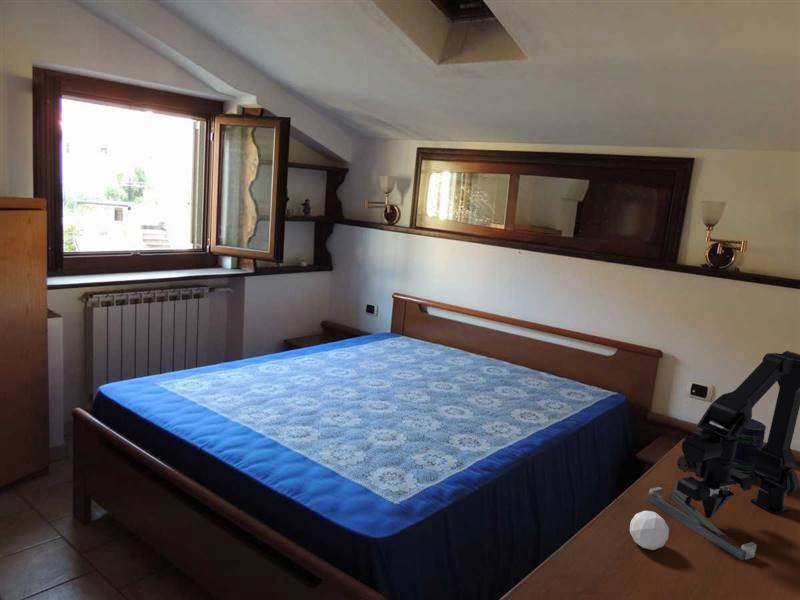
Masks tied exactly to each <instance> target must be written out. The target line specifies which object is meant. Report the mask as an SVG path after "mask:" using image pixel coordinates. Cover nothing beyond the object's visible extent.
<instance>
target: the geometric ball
mask: <svg viewBox="0 0 800 600" xmlns="http://www.w3.org/2000/svg"><path fill="white" fill-rule="evenodd" d="M669 531H670V528H669V526H668V524H667V522H666V521H665V519H664V518H663V517H662V516H660V515H659V514H658V513H657V512H655V511H651V510H643V511H640V512H637V513H635V515H634V516H633V518H632V519H631V521H630V525H629V532H630V535H631V537H632V539H633V541H634V542H635V543H636V544H637V545H639V546H640V547H641V548H643V549H647V550H652V551H655V550H657V549H660V548H663V547H664V546H665V544H666V543H667V541H668V539H669V534H670V532H669Z"/></svg>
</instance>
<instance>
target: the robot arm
mask: <svg viewBox="0 0 800 600" xmlns="http://www.w3.org/2000/svg"><path fill="white" fill-rule="evenodd" d="M776 382H777V384H778V387H779V388H778V394H777V398H776V401H775V402H776V403H775V406H774V411H773V414H772V420H771V424H770V429H769V434H768V436H767V437H768V438H767V442H766V443H765V444H763V445H762V447H761V448H760V449H757V450H756V452H755V458H754V460H753V477H755V479H758V480H761V481H760V483H759V488H758V490H757V491H758V493H757V497H754V498H751V499H750V501H749V502H751V503H753V504H755V505H757V506H759V507H760V508H762V509H764V510H766V511H768V512H769V513H772V514H778V513H782V512H786V511H790V510H791V507H789V506H787V505H785V502H786V498H787V497H786V496H787V493H795V492H796V490H797V489H798V487H799V485H800V479H799V477H798V475H797V474H796V471H795V465H796V460H795V459H796V458H795V456H794V454H793V452H792V450H791V446H792V441H793V437H794V433H795V428H796V424H797V420H798V416H799V411H800V353H797V352H793V351H789V350H785V351H784V352H782V353H779V352H773V353H772V352H771V353H770V352H768V353H765V355H764V356H763V358H762V359H761V362H760V363H759V365H757V367H755V369H754V370H752V372H751V373H750V374H749V375H748V376H747V377H746V378H745V379H744V380H743V382H741V383H740V384H739V385H738V386H737V388H736V389H735V390H733V391H730V392H726V393H723V394H721V395H720V396H719V397H718V398H716V399H715V400H714V401H712V403H710V405H709V406H708V408H707V410H706V411H705V413H704V414H703V416H702V417H701V418H700V420H699V422H698V423H697V425H696V427H697V428H698V429H702V430H693V431H692V435H691V436H687V437H686V438H685V439H684V440H683V442H682V444H681V451H682V455H678V458H677V459H678V460H677V461H676V462H677V463H676V465H677V468H678V469H679V470H681V472H683V473H694V474H695V475H694V476H695V477H697V478H699V479H700V478H701V479H702V480H698V479H697V478H695V477H693V476H688V477H683V478H680V479H677V480H676V484H675V486H676V490H678V491H680V492H682V493H683V494H685V495H687V496H688V497H690V498H691V500H694V501H697V502H702V506H703V511H704V515H705V516H704V517H705V518H706V519H710V520H711V519H712V518H713V517H714V516H715V515H716V514H717V513H718V512H719V510H721V508H722V507H723V506H724V505H725V504H726V503H727V502H728V501H729V500H730V499H731V498H732V497H734V496H735V493H734V492H733V491H731V490H730V487H731V486H736V485H740V486H739V488H740V490H741V491H743V492H746V491H750V490H752V487H753V484H754V483H753V480H751V478H750V477H749V476H747V475H745V474H743V473H741V472H739V471H737V470H735V469H733V468H737V465H738V463H736V462H734V458H735V453H736V448H737V443H738V438H739V437H743V436H744V434H743V433H742V432H741V431H742V430H743V429H744V428H745V427H746V426H747V425H748V422H749V421H750V419H753V418H752V417H753V408H754V407H755V405H756V404H757V403H758V402H759V401H760V400H761V399H762V397H764V395H765V394H766V393H767V392H768V391H770V389H771V388H772V387H773V386H774V385H775V384H776ZM712 423H713V424H712Z"/></svg>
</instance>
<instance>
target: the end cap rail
mask: <svg viewBox="0 0 800 600" xmlns="http://www.w3.org/2000/svg"><path fill="white" fill-rule="evenodd" d="M648 491H649V492H647V493H646V494H647V495H646V499H645V501H646V502H648V503H650V504H651V505H652V506H654V507H656V508H658V509H659V510H661V511H662V512H664V513H666V515H669V516H670V517H672V518H673V519H674V520H677V521H678V522H680V523H681V524H683V525H684V526H686V527H687V528H689V529H690V530H692V531H694V532H695V533H697V534H699V535H700V536H701V537H703V538H705V539H707V540H708V541H710V542H711V543H713V544H715V546H717V547H719V548H721V549H722V550H724V551H726V552H727V553H729V554H730V555H732V556H733V557H735V558H737V559H738V560H740V561H746V560H750V559H752V558H755V556H756V552H757V551H756V550H757V544H756V543H755V542H753V541H751V542H748V543H744V544H741V547H740V546H738V545H737V544H735V543H734V542H732V541H731V540H729V539H727V538H726V537H725V538H724V537H722V536H721V535H719V534H717V533H716V532H714V531H713V530H711V529H709V528H708V527H706V526H704V525H703V524H701V523H700V522H698V521H696V520H695V519H693V518H691V517H690V516H688V515H687V514H685V513H684V512H683V511H682V510H681V509H678V508H676V507H675V506H673V505H672V504H670V503H669V502H667V501H665V500H664V499H662V496H663V492H664V491H663V488H662V487H660V486H657V487H652V488H649V490H648Z"/></svg>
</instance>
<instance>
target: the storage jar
mask: <svg viewBox="0 0 800 600" xmlns="http://www.w3.org/2000/svg"><path fill="white" fill-rule="evenodd" d="M766 431H767V426H766V425H765V424H764V423H762V422H761V421H759V420H756V419H753V418H751V419H750V421H749V422H748V425H747V426H746V427H745V428H744V429H743V430H742V431H741V432H742V433H743V434H744V436H743V437H739V438H738V443H737V448H736V453H735V458H734V462H736V463H738V465H737V468H733V469H735V470H737V471H739V472H741V473H743V474H745V475H747V476H749V477H750V478H751V480H752V481H754V480H756V478H755V477H753V460H754V458H755V452H756V450H757V449H760V448H762V447H763V446H764V441H765V435H766V434H765V433H766ZM753 479H754V480H753Z"/></svg>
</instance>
